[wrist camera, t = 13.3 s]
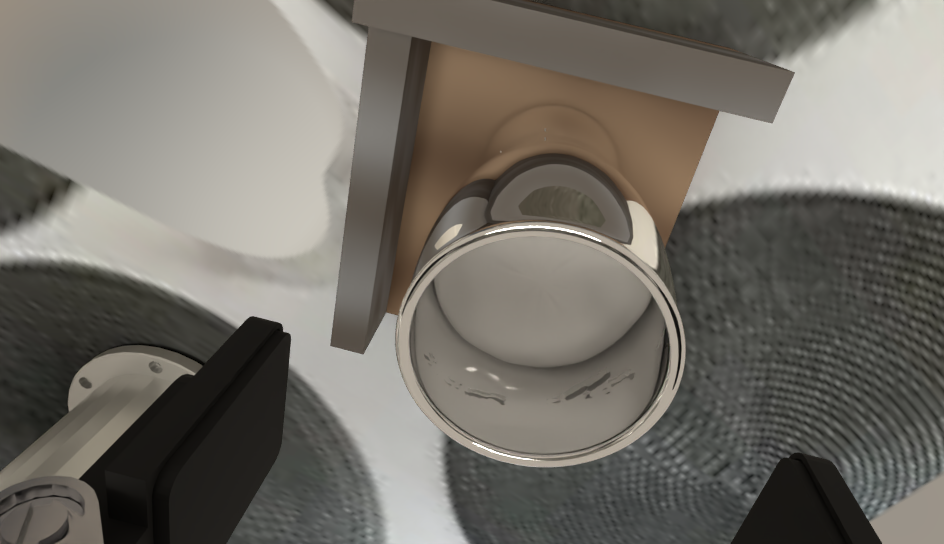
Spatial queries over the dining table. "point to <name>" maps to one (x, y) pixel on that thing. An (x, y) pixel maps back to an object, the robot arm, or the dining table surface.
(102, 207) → the dining table surface
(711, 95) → the wooden corner tray
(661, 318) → the beer glass
